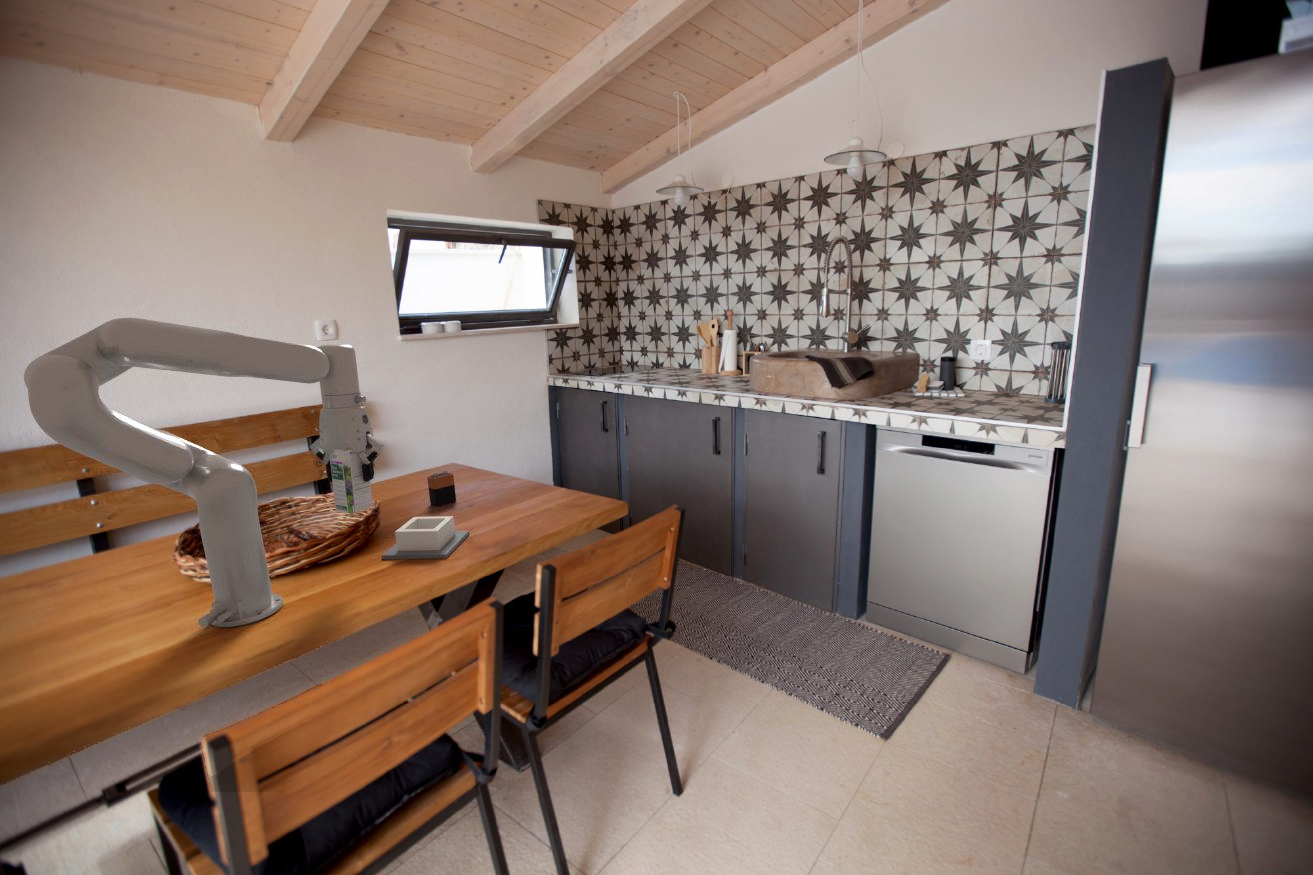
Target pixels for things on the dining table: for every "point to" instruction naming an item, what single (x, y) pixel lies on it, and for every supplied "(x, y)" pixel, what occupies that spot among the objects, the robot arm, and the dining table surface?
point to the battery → (441, 488)
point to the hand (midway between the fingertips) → (351, 479)
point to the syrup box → (349, 482)
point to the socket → (426, 539)
